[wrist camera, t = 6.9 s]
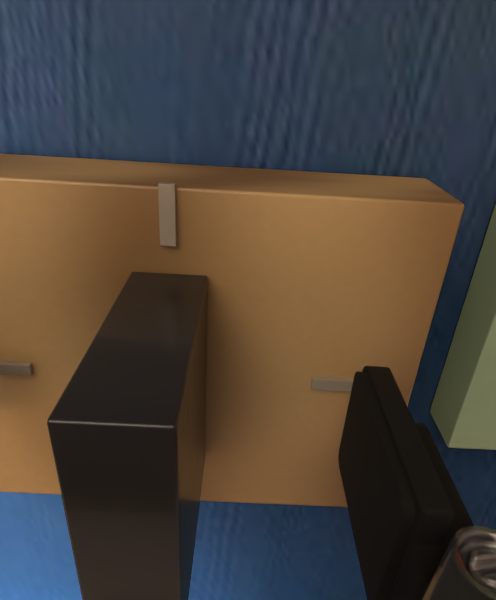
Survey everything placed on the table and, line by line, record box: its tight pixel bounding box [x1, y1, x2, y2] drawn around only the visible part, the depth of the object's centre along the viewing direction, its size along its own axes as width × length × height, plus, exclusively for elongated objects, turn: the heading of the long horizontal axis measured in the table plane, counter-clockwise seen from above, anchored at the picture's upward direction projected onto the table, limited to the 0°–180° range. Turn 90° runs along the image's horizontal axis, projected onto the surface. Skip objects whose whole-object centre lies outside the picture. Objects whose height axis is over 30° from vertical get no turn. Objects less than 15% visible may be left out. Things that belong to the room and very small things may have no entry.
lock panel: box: [0, 154, 464, 507], centre depth 13 cm, size 13×10×3 cm
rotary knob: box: [47, 272, 208, 600], centre depth 10 cm, size 6×2×5 cm, turn 177°
